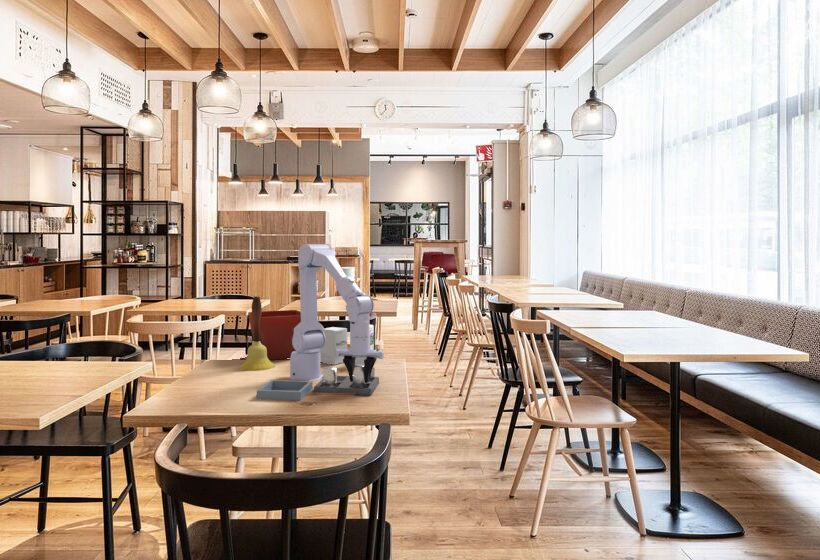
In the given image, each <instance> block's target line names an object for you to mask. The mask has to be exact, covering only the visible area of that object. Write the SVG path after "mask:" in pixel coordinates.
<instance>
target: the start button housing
mask: <svg viewBox="0 0 820 560" xmlns="http://www.w3.org/2000/svg"><path fill="white" fill-rule="evenodd" d="M370 377H375V367H373V368H372V371H371V375H370Z"/></svg>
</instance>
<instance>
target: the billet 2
mask: <svg viewBox="0 0 820 560" xmlns="http://www.w3.org/2000/svg"><path fill="white" fill-rule="evenodd" d="M352 374H353V388H366V383H365V365H364V364H355V365H353V366H352Z"/></svg>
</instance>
